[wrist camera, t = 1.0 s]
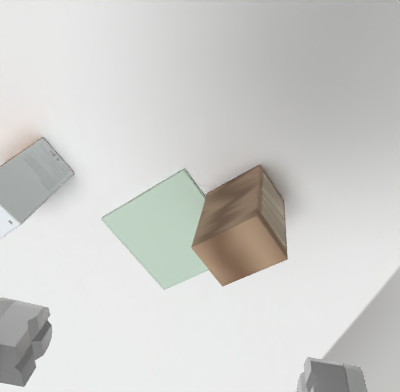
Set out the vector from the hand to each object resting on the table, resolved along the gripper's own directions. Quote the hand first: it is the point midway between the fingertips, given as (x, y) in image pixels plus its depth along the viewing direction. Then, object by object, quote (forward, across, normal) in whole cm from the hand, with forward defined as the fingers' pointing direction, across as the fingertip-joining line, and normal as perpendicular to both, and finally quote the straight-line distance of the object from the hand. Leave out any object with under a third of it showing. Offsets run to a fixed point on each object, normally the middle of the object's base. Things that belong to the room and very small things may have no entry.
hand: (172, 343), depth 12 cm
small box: (+36, +26, +15) cm, 47 cm away
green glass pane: (+36, +6, +22) cm, 43 cm away
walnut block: (+36, -3, +14) cm, 39 cm away
